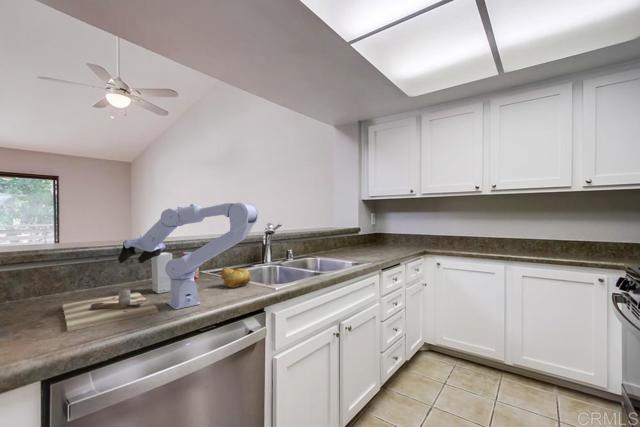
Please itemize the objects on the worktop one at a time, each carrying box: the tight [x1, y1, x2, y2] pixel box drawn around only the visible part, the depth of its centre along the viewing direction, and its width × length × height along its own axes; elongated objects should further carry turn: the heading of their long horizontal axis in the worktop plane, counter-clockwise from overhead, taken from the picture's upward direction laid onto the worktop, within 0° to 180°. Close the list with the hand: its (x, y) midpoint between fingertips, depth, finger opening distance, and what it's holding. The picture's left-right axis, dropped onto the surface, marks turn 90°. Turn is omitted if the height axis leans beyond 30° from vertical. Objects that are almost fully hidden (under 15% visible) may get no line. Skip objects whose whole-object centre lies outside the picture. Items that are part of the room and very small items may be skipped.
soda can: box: [181, 251, 200, 283], centre depth 130 cm, size 7×7×13 cm
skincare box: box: [150, 252, 173, 294], centre depth 114 cm, size 8×6×15 cm
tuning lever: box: [91, 289, 140, 309], centre depth 89 cm, size 14×3×5 cm, turn 94°
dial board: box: [62, 291, 159, 332], centre depth 91 cm, size 26×21×1 cm
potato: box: [220, 267, 251, 289], centre depth 123 cm, size 13×10×8 cm
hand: (130, 260), depth 101 cm, fingers open, 7 cm apart
